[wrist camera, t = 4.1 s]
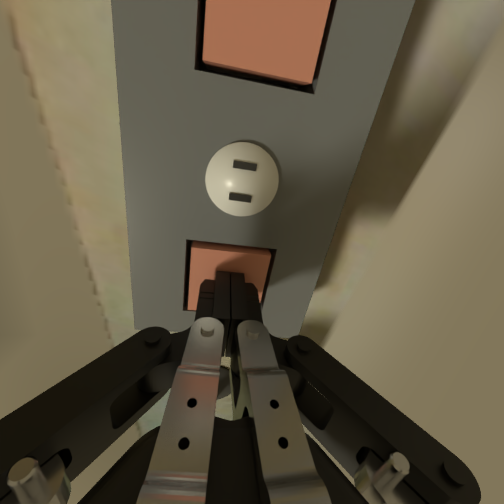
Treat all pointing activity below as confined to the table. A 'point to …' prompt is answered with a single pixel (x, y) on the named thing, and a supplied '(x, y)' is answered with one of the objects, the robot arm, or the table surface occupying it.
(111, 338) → the table surface
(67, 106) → the table surface
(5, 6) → the table surface
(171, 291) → the power strip
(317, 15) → the switch
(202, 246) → the switch
